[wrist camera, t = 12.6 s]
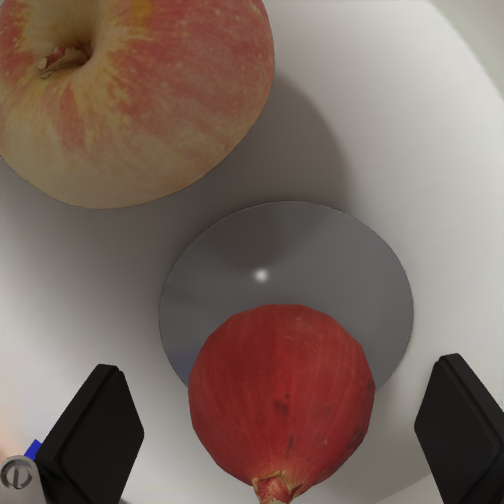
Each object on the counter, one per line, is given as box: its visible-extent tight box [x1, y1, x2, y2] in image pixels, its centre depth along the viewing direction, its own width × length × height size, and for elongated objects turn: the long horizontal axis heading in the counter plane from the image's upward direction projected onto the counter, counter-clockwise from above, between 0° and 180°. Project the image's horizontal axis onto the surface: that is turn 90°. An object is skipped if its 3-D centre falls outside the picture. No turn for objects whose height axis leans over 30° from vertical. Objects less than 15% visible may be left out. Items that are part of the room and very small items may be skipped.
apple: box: [0, 0, 275, 209], centre depth 8 cm, size 9×9×8 cm
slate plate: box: [159, 201, 413, 392], centre depth 14 cm, size 11×11×1 cm
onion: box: [188, 304, 376, 504], centre depth 9 cm, size 6×6×8 cm
